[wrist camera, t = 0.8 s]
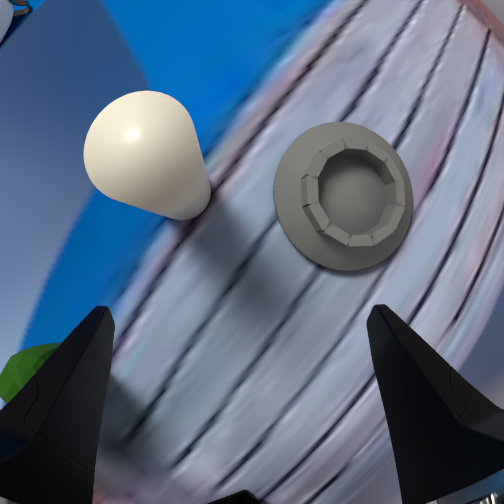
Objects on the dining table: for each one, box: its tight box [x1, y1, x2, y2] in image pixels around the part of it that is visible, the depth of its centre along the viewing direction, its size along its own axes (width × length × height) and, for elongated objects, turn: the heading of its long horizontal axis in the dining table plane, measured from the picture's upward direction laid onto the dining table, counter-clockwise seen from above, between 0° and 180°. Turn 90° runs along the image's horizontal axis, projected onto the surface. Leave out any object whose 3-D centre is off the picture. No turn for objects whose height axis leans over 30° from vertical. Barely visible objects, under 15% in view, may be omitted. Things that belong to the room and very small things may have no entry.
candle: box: [84, 91, 211, 221], centre depth 17 cm, size 4×4×13 cm
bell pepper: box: [0, 343, 61, 403], centre depth 18 cm, size 8×8×10 cm
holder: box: [273, 122, 413, 271], centre depth 23 cm, size 12×12×3 cm
